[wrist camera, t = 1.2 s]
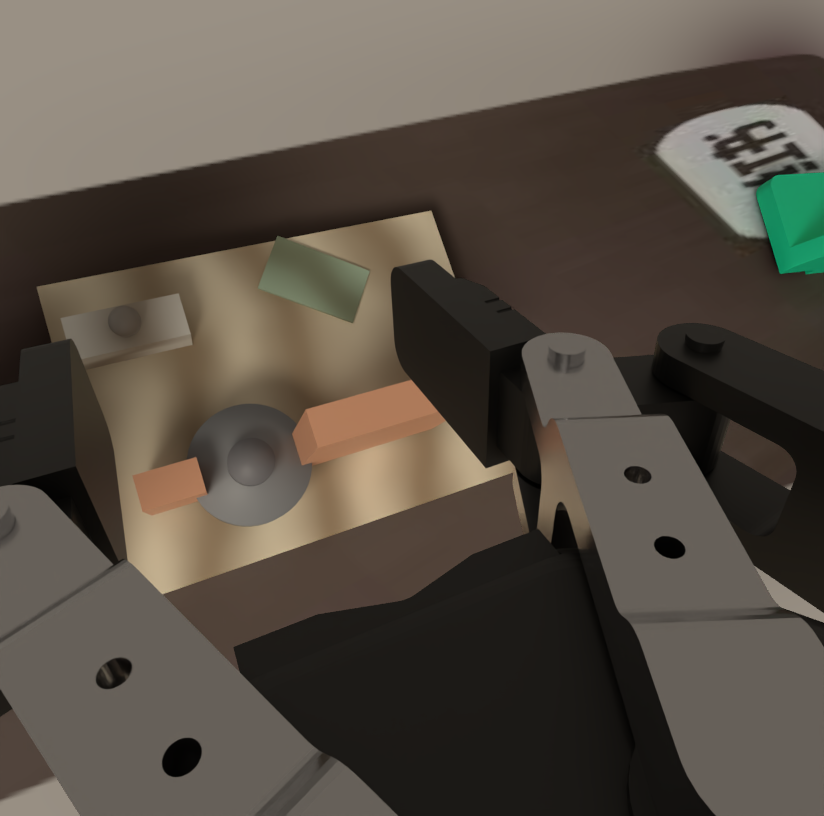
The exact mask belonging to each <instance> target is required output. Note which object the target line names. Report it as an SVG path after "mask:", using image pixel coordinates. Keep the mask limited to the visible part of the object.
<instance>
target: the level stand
mask: <svg viewBox="0 0 824 816" xmlns="http://www.w3.org/2000/svg"><path fill="white" fill-rule="evenodd" d="M430 259H431V260H433V261H435V262H436V263H437V264H439V265H440V266H441V267H442V268H443V269H445V270H446V271H447V272H448V273H450V274H451V275H452V276H453V277H454V274H453V271H452V268H451V265H450V263H449V260H448V257H447V254H446V251H445V248H444V246H443V243H442V240H441V237H440V234H439V231H438V228H437V226H436V223H435V220H434V217H433V214H432V211H427V212H421V213H416V214H411V215H406V216H401V217H395V218H390V219H385V220H380V221H375V222H370V223H364V224H359V225H354V226H349V227H344V228H338V229H333V230H328V231H323V232H318V233H313V234H307V235H302V236H297V237H292V238H287V239H285V238H282V237H280V236H277V238H276V240H275V241H271V242H266V243H261V244H256V245H250V246H245V247H240V248H235V249H230V250H225V251H219V252H214V253H209V254H204V255H199V256H194V257H188V258H183V259H178V260H173V261H168V262H162V263H157V264H152V265H147V266H142V267H137V268H131V269H126V270H121V271H116V272H111V273H106V274H100V275H95V276H90V277H85V278H80V279H74V280H69V281H64V282H59V283H54V284H49V285H43V286H38V287H37V291H38V295H39V298H40V302H41V306H42V309H43V313H44V316H45V320H46V324H47V327H48V331H49V335H50V338H51V342H52V343H53V342H57V341H62V340H66V339H72V340H73V341H74V343H75V345H76V347H77V349H78V352H79V354H80V357H81V359H82V362H83V364H84V367H85V369H86V372H87V374H88V377H89V379H90V382H91V384H92V387H93V390H94V392H95V395H96V397H97V400H98V402H99V405H100V407H101V410H102V412H103V415H104V418H105V420H106V423H107V426H108V429H109V433H110V436H111V440H112V444H113V449H114V455H115V463H116V471H117V479H118V487H119V495H120V503H121V511H122V519H123V527H124V535H125V543H126V551H127V558H128V561H129V562H130V563H131V564H133V565H134V566H135V567H136V568H137V569H138V570H139V571H140V572H141V573H142V574H143V575H144V576H145V577H146V578H147V579H148V580H149V581H150V582H151V583H152V584H153V585H154V586H155V587H156V588H157V589H158V590H159V592H160V593H161V594H164V593H167V592H170V591H173V590H176V589H179V588H182V587H185V586H187V585H190V584H193V583H196V582H199V581H202V580H205V579H208V578H210V577H213V576H216V575H219V574H222V573H225V572H228V571H231V570H233V569H236V568H239V567H242V566H245V565H248V564H251V563H254V562H256V561H259V560H262V559H265V558H268V557H271V556H274V555H277V554H279V553H282V552H285V551H288V550H291V549H294V548H297V547H300V546H302V545H305V544H308V543H311V542H314V541H317V540H320V539H323V538H325V537H328V536H331V535H334V534H337V533H340V532H343V531H346V530H348V529H351V528H354V527H357V526H360V525H363V524H366V523H369V522H371V521H374V520H377V519H380V518H383V517H386V516H389V515H392V514H394V513H397V512H400V511H403V510H406V509H409V508H412V507H415V506H417V505H420V504H423V503H426V502H429V501H432V500H435V499H438V498H440V497H443V496H446V495H449V494H452V493H455V492H458V491H461V490H463V489H466V488H469V487H472V486H475V485H478V484H481V483H484V482H486V481H489V480H492V479H495V478H498V477H501V476H504V475H507V474H509V473H512V472H513V470H514V465H513V464H512V463H511V462H510V460H509V461H506V462H504V463H501V464H498V465H495V466H492V467H489V468H485V467H484V466H483V464H482V463H481V462H480V461H479V460H478V458H477V457H476V456H475V455H474V454H473V452H472V451H471V450H470V449H469V448H468V447H467V445H466V444H465V443H464V442H463V441H462V439H461V438H460V437H459V436H458V435H457V433H456V432H455V431H454V430H453V429H452V427H451V426H450V425H449V424H448V423H447V422H446V421H445V422H443V423H441V424H440V425H438V426H436V427H434V428H433V429H430V430H427V431H423V432H420V433H417V434H414V435H411V436H407V437H404V438H401V439H398V440H394V441H391V442H388V443H385V444H381V445H378V446H375V447H372V448H369V449H365V450H362V451H359V452H356V453H352V454H349V455H346V456H343V457H339V458H336V459H333V460H330V461H327V462H323V463H320V464H317V465H314V466H312V472H311V477H310V481H309V484H308V486H307V489H306V491H305V493H304V494H303V496H302V498H301V499H300V500H299V501H298V503H297V504H296V505H295V506H294V507H293V508H292V509H291V510H290V511H288V512H287V513H286V514H284V515H283V516H281V517H279V518H277V519H276V520H274V521H271V522H269V523H266V524H263V525H259V526H252V527H242V526H235V525H231V524H227V523H225V522H223V521H220V520H219V519H217V518H215V517H213V516H212V515H211V514H210V513H208V512H207V511H206V510H205V509H204V508H203V507H202V506H201V504H200V503H199V501H197V502H194V503H191V504H188V505H184V506H181V507H178V508H175V509H171V510H168V511H165V512H162V513H159V514H155V515H149V514H147V513H144V512H142V508H141V504H140V501H139V497H138V494H137V490H136V487H135V483H134V480H133V476H132V475H136V474H139V473H143V472H146V471H150V470H153V469H157V468H160V467H164V466H167V465H170V464H174V463H177V462H181V461H184V460H187V455H188V450H189V447H190V444H191V441H192V439H193V438H194V436H195V434H196V432H197V431H198V430H199V428H200V427H201V426H202V425H203V424H204V423H205V422H206V421H207V420H208V419H209V418H210V417H211V416H213V415H214V414H216V413H218V412H219V411H221V410H223V409H226V408H228V407H231V406H235V405H240V404H260V405H266V406H269V407H272V408H275V409H277V410H279V411H281V412H283V413H284V414H286V415H287V416H289V417H290V418H291V419H292V420H293V421H294V422H295V423H296V424H298V422H299V420H300V419H301V417H302V415H303V413H304V412H305V410H306V409H309V408H312V407H316V406H320V405H323V404H327V403H330V402H334V401H337V400H341V399H345V398H348V397H352V396H355V395H359V394H362V393H366V392H370V391H373V390H377V389H380V388H384V387H387V386H391V385H394V384H398V383H402V382H405V381H409V380H411V379H410V377H409V376H408V375H407V374H406V373H405V371H404V370H403V368H402V366H401V364H400V362H399V359H398V356H397V353H396V349H395V342H394V328H393V312H392V297H391V272H392V270H393V268H394V267H398V266H402V265H407V264H411V263H416V262H420V261H425V260H430Z"/></svg>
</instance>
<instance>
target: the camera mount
mask: <svg viewBox="0 0 824 816" xmlns="http://www.w3.org/2000/svg"><path fill="white" fill-rule="evenodd" d="M756 196H757V200H758V203H759V206H760V210H761V213H762V216H763V220H764V223H765V226H766V229H767V233H768V236H769V239H770V243H771V246H772V249H773V253H774V256H775V259H776V262H777V266H778V269H779V272H780V274H783V273H792V272H800V271H805V273H806V274H812V273H821V272H824V172H823V173H805V174H787V175H776V176H774V177H773V178H771V179H770V180H768V181H767V182H765V183H764V184H762V185H761V186H760V187H759V188H758V189H757V192H756Z"/></svg>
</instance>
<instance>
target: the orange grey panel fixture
mask: <svg viewBox="0 0 824 816" xmlns="http://www.w3.org/2000/svg"><path fill="white" fill-rule="evenodd" d="M445 421H446V420H445V419H444V418H443V417H442V416H441V414H440V413H439V412H438V411H437V410H436V408H435V407H434V406H433V405H432V404H431V402H430V401H429V400H428V399H427V398H426V396H425V395H424V394H423V393H422V392H421V391H420V389H419V388H418V387H417V386H416V385H415V383H414V382H413V381H412V380H409V381H405V382H402V383H398V384H394V385H391V386H387V387H384V388H380V389H377V390H373V391H370V392H366V393H362V394H359V395H355V396H352V397H348V398H345V399H341V400H337V401H334V402H330V403H327V404H323V405H320V406H316V407H312V408H309V409H306V410H305V412H304V413H303V415H302V417H301V419H300V420H299V422H298V424H296V423H295V422H294V421H293V420H292V419H291V418H290V417H289V416H287V415H286V414H284V413H283V412H281V411H279V410H277V409H275V408H272V407H269V406H266V405H260V404H240V405H235V406H231V407H228V408H226V409H223V410H221V411H219V412H218V413H216V414H214V415H213V416H211V417H210V418H209V419H208V420H207V421H206V422H205V423H204V424H203V425H202V426H201V427H200V428H199V430H198V431H197V432H196V434H195V436H194V438H193V439H192V441H191V444H190V447H189V450H188V455H187V460H184V461H181V462H177V463H174V464H170V465H167V466H164V467H160V468H157V469H153V470H150V471H146V472H143V473H139V474H136V475H132V476H133V480H134V483H135V487H136V490H137V494H138V497H139V501H140V504H141V508H142V512H144V513H147V514H149V515H155V514H159V513H162V512H165V511H168V510H171V509H175V508H178V507H181V506H184V505H188V504H191V503H194V502H197V501H199V503H200V504H201V506H202V507H203V508H204V509H205V510H206V511H207V512H208V513H210V514H211V515H212V516H213V517H215V518H217V519H219V520H220V521H223V522H225V523H227V524H231V525H235V526H242V527H252V526H259V525H263V524H266V523H269V522H271V521H274V520H276V519H277V518H279V517H281V516H283V515H284V514H286V513H287V512H288V511H290V510H291V509H292V508H293V507H294V506H295V505H296V504H297V503H298V501H299V500H300V499H301V498H302V496H303V494H304V493H305V491H306V489H307V486H308V484H309V481H310V477H311V472H312V466H314V465H317V464H320V463H323V462H327V461H330V460H333V459H336V458H339V457H343V456H346V455H349V454H352V453H356V452H359V451H362V450H365V449H369V448H372V447H375V446H378V445H381V444H385V443H388V442H391V441H394V440H398V439H401V438H404V437H407V436H411V435H414V434H417V433H420V432H423V431H427V430H430V429H433V428H434V427H436V426H438V425H440V424H441V423H443V422H445Z"/></svg>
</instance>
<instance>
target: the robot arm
mask: <svg viewBox="0 0 824 816" xmlns="http://www.w3.org/2000/svg"><path fill="white" fill-rule="evenodd" d="M391 297H392V312H393V328H394V342H395V349H396V353H397V356H398V359H399V362H400V364H401V366H402V368H403V370H404V371H405V373H406V374H407V375H408V376H409V377H410V379H411V380H412V381H413V382H414V383H415V385H416V386H417V387H418V388H419V389H420V391H421V392H422V393H423V394H424V395H425V396H426V398H427V399H428V400H429V401H430V402H431V404H432V405H433V406H434V407H435V408H436V410H437V411H438V412H439V413H440V414H441V416H442V417H443V418H444V419H445V420H446V422H447V423H448V424H449V425H450V426H451V427H452V429H453V430H454V431H455V432H456V433H457V435H458V436H459V437H460V438H461V439H462V441H463V442H464V443H465V444H466V445H467V447H468V448H469V449H470V450H471V451H472V452H473V454H474V455H475V456H476V457H477V458H478V460H479V461H480V462H481V463H482V464H483V466H484V467H485V468H489V467H492V466H495V465H498V464H501V463H504V462H506V461H509V460H510V462H511V463H512V464H513V465H514V470H513V488H514V493H515V498H516V503H517V508H518V513H519V517H520V522H521V527H522V532H523V535H521V536H519V537H516V538H514V539H511V540H508V541H506V542H503V543H501V544H498V545H496V546H493V547H490V548H488V549H485V550H483V551H480V552H478V553H475V554H472V555H471V556H469V557H468V558H467V559H465V560H464V561H462V562H461V563H459V564H458V565H457V566H455V567H454V568H452V569H451V570H449V571H448V572H447V573H445V574H444V575H442V576H441V577H439V578H438V579H437V580H435V581H434V582H432V583H431V584H429V585H428V586H427V587H425V588H424V589H422V590H421V591H419V592H418V593H417V594H415V595H414V596H412V597H410V598H408V599H406V600H402V601H398V602H392V603H386V604H380V605H373V606H367V607H361V608H355V609H349V610H342V611H336V612H330V613H324V614H318V615H315V616H313V617H310V618H307V619H305V620H302V621H300V622H297V623H294V624H292V625H289V626H287V627H284V628H282V629H279V630H276V631H274V632H271V633H269V634H266V635H264V636H261V637H258V638H256V639H253V640H251V641H248V642H245V643H243V644H240V645H238V646H235V647H234V651H235V655H236V659H237V663H238V667H239V670H240V672H239V671H238V670H237V669H236V668H235V667H234V666H233V665H232V664H231V663H230V662H229V661H228V660H227V659H226V658H225V657H224V656H223V655H222V654H221V653H220V652H219V651H218V650H217V649H216V648H215V647H214V646H213V645H212V644H211V643H210V642H209V641H208V640H207V639H206V638H205V637H204V636H203V635H202V634H201V633H200V632H199V631H198V630H197V629H196V628H195V627H194V626H193V625H192V624H191V623H190V622H189V621H188V620H187V619H186V618H185V617H184V616H183V615H182V614H181V613H180V612H179V611H178V610H177V609H176V608H175V607H174V606H173V605H172V604H171V603H170V602H169V601H168V600H167V599H166V598H165V597H164V596H163V595H162V594H161V593H160V592H159V590H158V589H157V588H156V587H155V586H154V585H153V584H152V583H151V582H150V581H149V580H148V579H147V578H146V577H145V576H144V575H143V574H142V573H141V572H140V571H139V570H138V569H137V568H136V567H135V566H134V565H133V564H131V563H130V562H129V561H128V558H127V551H126V543H125V535H124V527H123V519H122V511H121V503H120V495H119V487H118V479H117V471H116V463H115V455H114V449H113V444H112V440H111V436H110V433H109V429H108V426H107V423H106V420H105V418H104V415H103V412H102V410H101V407H100V405H99V402H98V400H97V397H96V395H95V392H94V390H93V387H92V384H91V382H90V379H89V377H88V374H87V372H86V369H85V367H84V364H83V362H82V359H81V357H80V354H79V352H78V349H77V347H76V345H75V343H74V341H73V340H72V339H66V340H62V341H57V342H53V343H48V344H44V345H39V346H35V347H30V348H26V349H22V350H21V355H20V368H19V381H18V382H15V383H10V384H6V385H2V386H0V716H2V715H3V714H5V713H6V712H8V711H10V710H11V709H13V710H14V712H15V713H16V715H17V716H18V718H19V719H20V721H21V723H22V724H23V726H24V727H25V729H26V731H27V732H28V734H29V735H30V737H31V738H32V740H33V742H34V743H35V745H36V746H37V748H38V750H39V751H40V753H41V754H42V756H43V757H44V759H45V761H46V762H47V764H48V765H49V767H50V769H51V770H52V772H53V773H54V775H55V776H56V778H57V780H58V781H59V783H60V784H61V786H62V788H63V789H64V791H65V792H66V794H67V795H68V797H69V799H70V800H71V802H72V803H73V805H74V807H75V808H76V810H77V811H78V813H79V814H80V816H824V623H823V622H820V621H817V620H814V619H811V618H809V617H806V616H803V615H800V614H797V613H795V612H792V611H789V610H786V609H784V608H781V607H780V606H779V605H778V604H777V603H776V602H775V601H774V600H773V598H772V597H771V595H770V593H769V592H768V590H767V588H766V586H765V584H764V583H763V581H762V579H761V578H760V576H759V574H758V572H757V570H756V569H755V567H754V566H756V567H757V568H759V569H760V570H762V571H763V572H765V573H766V574H768V575H769V576H771V577H772V578H773V579H775V580H776V581H778V582H779V583H781V584H782V585H784V586H785V587H787V588H788V589H790V590H791V591H792V592H794V593H795V594H797V595H798V596H800V597H801V598H803V599H804V600H806V601H807V602H809V603H810V604H812V605H813V606H814V607H816V608H817V609H819V610H820V611H822V612H823V613H824V371H822V370H820V369H818V368H815V367H813V366H811V365H808V364H806V363H804V362H801V361H799V360H797V359H794V358H792V357H790V356H787V355H785V354H783V353H780V352H778V351H776V350H773V349H771V348H769V347H766V346H764V345H762V344H759V343H757V342H755V341H752V340H750V339H748V338H745V337H743V336H741V335H738V334H736V333H734V332H731V331H729V330H726V329H724V328H720V327H717V326H713V325H708V324H699V323H684V324H677V325H673V326H670V327H667V328H665V329H664V330H662V331H661V332H660V333H659V335H658V338H657V343H656V347H655V352H654V355H645V356H631V357H618V358H613V357H612V355H611V353H610V351H609V350H608V348H607V347H606V346H604V345H603V344H602V343H600V342H599V341H597V340H595V339H592V338H590V337H587V336H583V335H579V334H574V333H549V334H546V333H544V332H543V331H542V330H540V329H539V328H538V327H536V326H535V325H534V324H533V323H531V322H530V321H529V320H527V319H526V318H525V317H524V316H522V315H521V314H520V313H518V312H517V311H516V310H515V309H514V310H512V309H511V306H509V305H508V304H507V303H506V302H504V301H503V300H499V297H498V296H496V295H495V294H494V293H493V292H491V291H490V290H489V289H487V288H486V287H485V286H483V285H480V284H477V283H475V282H472V281H469V280H466V279H463V278H459V279H456V278H455V277H453V276H452V275H451V274H450V273H448V272H447V271H446V270H445V269H443V268H442V267H441V266H440V265H439V264H437V263H436V262H435V261H433V260H431V259H430V260H425V261H420V262H416V263H411V264H407V265H402V266H398V267H394V268H393V270H392V272H391ZM730 419H731V420H733V421H734V422H736V423H738V424H740V425H742V426H744V427H746V428H748V429H750V430H751V431H753V432H755V433H757V434H759V435H761V436H763V437H765V438H766V439H768V440H770V441H772V442H774V443H776V444H778V445H779V446H781V447H783V448H784V449H785V450H786V451H787V452H788V453H789V454H790V455H791V457H792V458H793V460H794V462H795V465H796V469H797V474H796V478H795V481H794V483H793V486H792V488H791V490H788V489H787V488H785V487H783V486H781V485H780V484H778V483H776V482H774V481H773V480H771V479H769V478H767V477H766V476H764V475H762V474H760V473H759V472H757V471H755V470H753V469H752V468H750V467H748V466H747V465H745V464H743V463H741V462H740V461H738V460H736V459H734V458H733V457H731V456H729V455H727V454H726V453H724V452H722V451H721V448H722V445H723V442H724V438H725V435H726V432H727V429H728V426H729V422H730Z"/></svg>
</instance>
